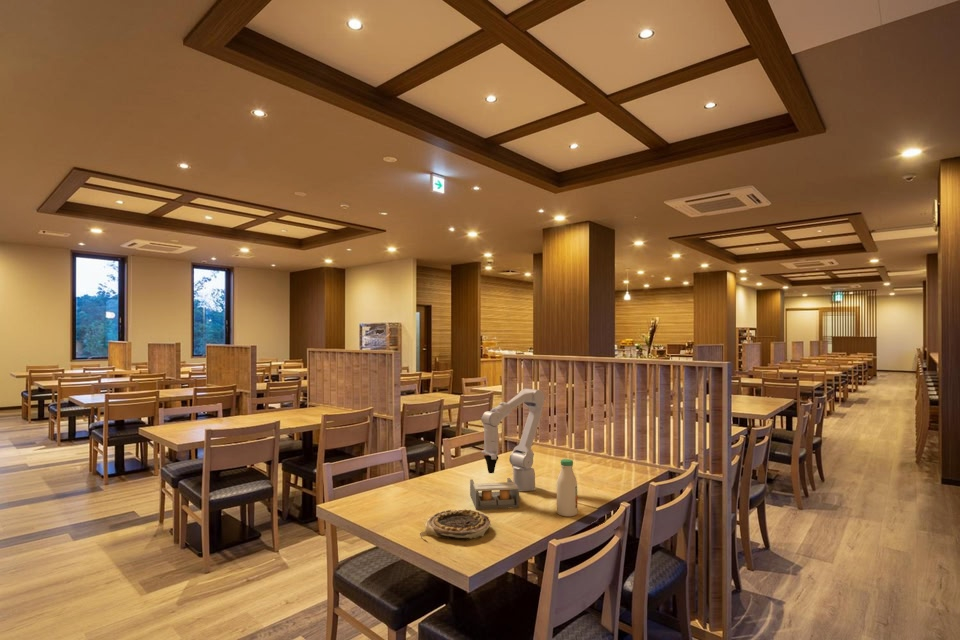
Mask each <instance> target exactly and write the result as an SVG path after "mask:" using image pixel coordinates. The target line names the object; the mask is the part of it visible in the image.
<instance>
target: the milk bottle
mask: <svg viewBox="0 0 960 640" xmlns="http://www.w3.org/2000/svg"><path fill="white" fill-rule="evenodd" d="M573 461H574V460H572V459H569V458H562V459H561V460H560V467H561V468H560V472H559V474H558V476H557V480H556V513H557V515H559V516H561V517H575V516H577V515H578V481H577V477H576V475H575V472H574V469H573V467H574V462H573Z"/></svg>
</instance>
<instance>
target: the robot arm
mask: <svg viewBox="0 0 960 640" xmlns="http://www.w3.org/2000/svg"><path fill="white" fill-rule="evenodd" d="M545 399H546V397H545V394H544V391H542V390H541V389H534V388H533V389H532V388H527V387H525V388H523V389H522V390H520V391H519V392H518V394H516V395H515V396H514V397H512V398H511V399H510V400H508V401H507V402H505V401H501V402H499V403H498V405H497V406H496V407H492V408H491V409H490V411H489V410H487V411H484V413H483V414H482V416H481V418H480V419H481V420H480V421H481V423H482V425H483V430H484V431H483V433H484V435H483V436H484V438H483V440H484V443H483V444H484V445H483V450H481V454H484V455H483V457H484V460H485V463H486V466H487V472H488V474H495V469H496V466H497V461H498V460H499V455H498V454H499V445H498V444H499V440H498V439H499V437H498V435H499V433H498V429H499V428H498V427H499V425H500V424H501V422H502V420H503V419H505V418H506V417H508V416H509V415H510V414H512V410H513V409H515V408H517V407H518V406H520V405H521V404H524V405H525V406H526V407H527V409H528V411H529V412H528V414H527V417H526V421H525V425H524V428H523V431H522V434H521V436H520V437H521V438H520V441H519V444H517V445H515V447H513V450H512V452H511V453H510V454H509V461H508V462H509V463H510V465H511V468H512V482H514V483H515V484H516V485H517V487H518V490H519V492H527V491H529V492H531V491H536V471H535V469H534V468H533V464H534V456H535V453H534V451H533V450H532V446H533V442H534V439H535V437H536V433H537V430H538V426H539V423H540V420H541V416H542V413H543V409H544V408H543V406H544V403H545Z"/></svg>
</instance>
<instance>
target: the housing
mask: <svg viewBox="0 0 960 640" xmlns="http://www.w3.org/2000/svg"><path fill="white" fill-rule="evenodd" d="M506 478H507V481H506V482H513V479H512V480H511V478H510V477H506ZM473 484H475V482H474V479H471V478H470V479H469V496H470V499H471V501H472V504H473V506H474V509H475V510H476V511H477V510H497V509H515V508H516V509H519V508H520V491H519V490H518V489H513V490H510V499H506V500H500V491H493V490H490V491H476V490H475V488H474V486H473Z"/></svg>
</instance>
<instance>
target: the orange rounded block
mask: <svg viewBox="0 0 960 640" xmlns="http://www.w3.org/2000/svg"><path fill="white" fill-rule="evenodd" d="M499 492H500V500H506V499H510V490H499Z"/></svg>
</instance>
